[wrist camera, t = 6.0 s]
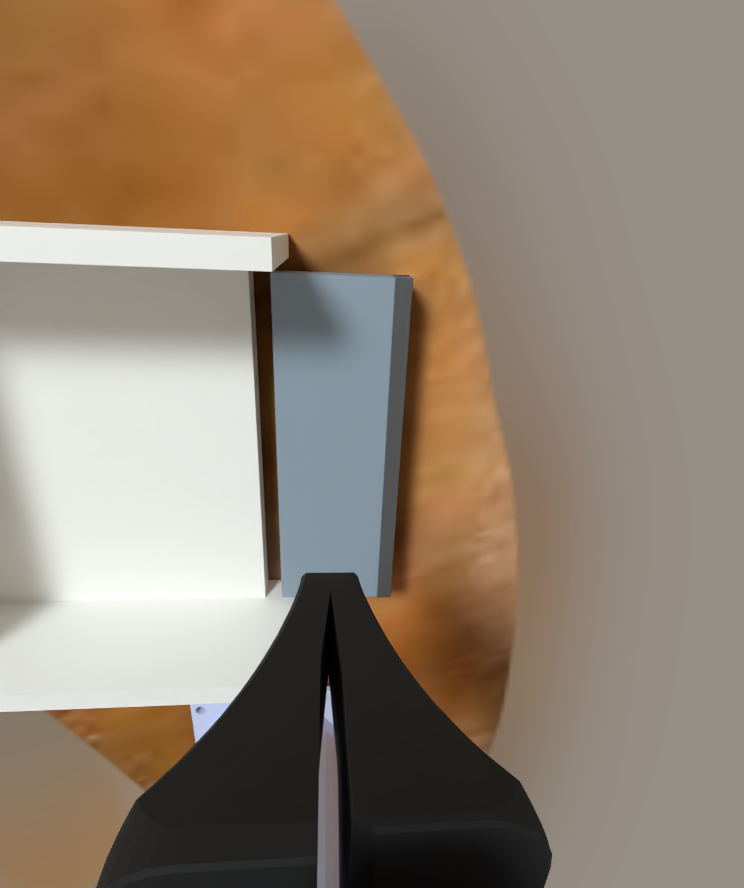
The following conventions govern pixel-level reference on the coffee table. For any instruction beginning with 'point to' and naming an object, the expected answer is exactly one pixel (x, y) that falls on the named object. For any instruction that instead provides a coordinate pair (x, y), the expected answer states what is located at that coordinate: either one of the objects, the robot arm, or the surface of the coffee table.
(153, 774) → the coffee table surface
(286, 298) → the door panel
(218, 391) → the white cubby shelf
